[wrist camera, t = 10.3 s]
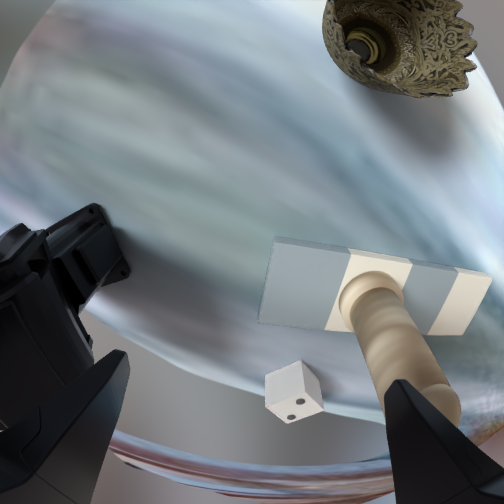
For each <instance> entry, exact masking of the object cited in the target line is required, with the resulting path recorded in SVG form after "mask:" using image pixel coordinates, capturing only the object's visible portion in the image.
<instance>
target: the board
mask: <svg viewBox="0 0 504 504" xmlns="http://www.w3.org/2000/svg"><path fill="white" fill-rule="evenodd" d="M368 271H382V272H385V273H387V274H389V275H390V276H391V277H392V278H393V279H394V280H395V282H396V283H397V285H398V286H399V288H400V289H401V290H402V292H403V296H404V305H403V306H404V307H405V309H406V310H407V312H408V313H409V315H410V317H411V318H412V320H413V321H414V323H415V325H416V326H417V328H418V330H419V331H420V333H421V335H463V333H464V332H465V330H466V328H467V326H468V325H469V323H470V321H471V320H472V318H473V316H474V314H475V312H476V311H477V309H478V307H479V305H480V303H481V301H482V299H483V297H484V295H485V293H486V291H487V289H488V287H489V285H490V283H491V281H492V279H493V278H492V277H491V276H489V275H488V274H487V273H482V272H477V271H472V270H467V269H462V268H456V267H451V266H446V265H440V264H435V263H430V262H424V261H419V260H413V259H407V258H402V257H396V256H391V255H385V254H379V253H373V252H367V251H362V250H356V249H350V248H344V247H338V246H332V245H326V244H319V243H313V242H307V241H301V240H294V239H288V238H282V237H275V236H274V241H273V246H272V250H271V255H270V260H269V265H268V270H267V275H266V279H265V284H264V289H263V294H262V298H261V303H260V308H259V312H258V323H262V324H270V325H278V326H288V327H297V328H307V329H318V330H330V331H343V332H352V331H350V330H349V329H348V328H347V327H346V325H345V323H344V321H343V318H342V315H341V313H340V310H339V297H340V294H341V292H342V290H343V289H344V287H345V286H346V285H347V284H348V283H349V282H350V281H351V280H352V279H353V278H355V277H356V276H358V275H360V274H362V273H365V272H368Z"/></svg>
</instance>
